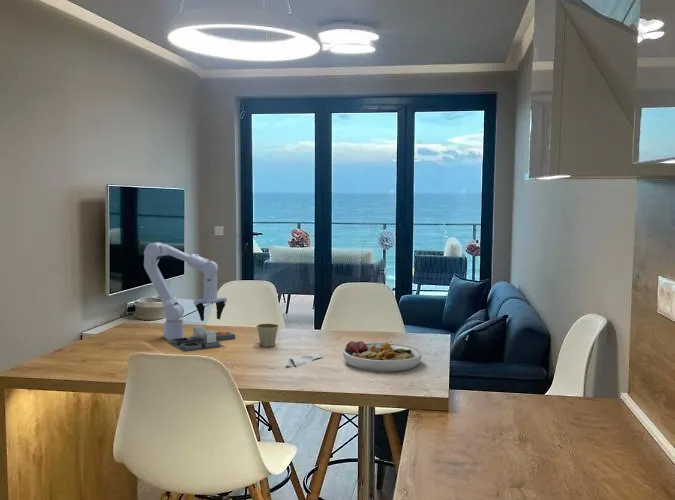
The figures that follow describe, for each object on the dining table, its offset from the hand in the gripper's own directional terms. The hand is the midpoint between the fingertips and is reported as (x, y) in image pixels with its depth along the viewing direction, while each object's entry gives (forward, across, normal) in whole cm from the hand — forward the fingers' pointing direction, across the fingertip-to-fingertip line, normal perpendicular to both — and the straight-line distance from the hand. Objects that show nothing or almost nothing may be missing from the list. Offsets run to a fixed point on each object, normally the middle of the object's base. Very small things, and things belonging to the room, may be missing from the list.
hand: (210, 319), depth 276 cm
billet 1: (+8, -6, -2) cm, 11 cm away
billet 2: (+8, -6, -13) cm, 17 cm away
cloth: (+10, +16, -51) cm, 55 cm away
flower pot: (+10, +17, -21) cm, 29 cm away
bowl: (+10, +40, -71) cm, 82 cm away
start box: (+9, +5, -2) cm, 11 cm away
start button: (+8, +5, -2) cm, 10 cm away
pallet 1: (+9, -10, -2) cm, 14 cm away
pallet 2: (+9, -10, -13) cm, 19 cm away
